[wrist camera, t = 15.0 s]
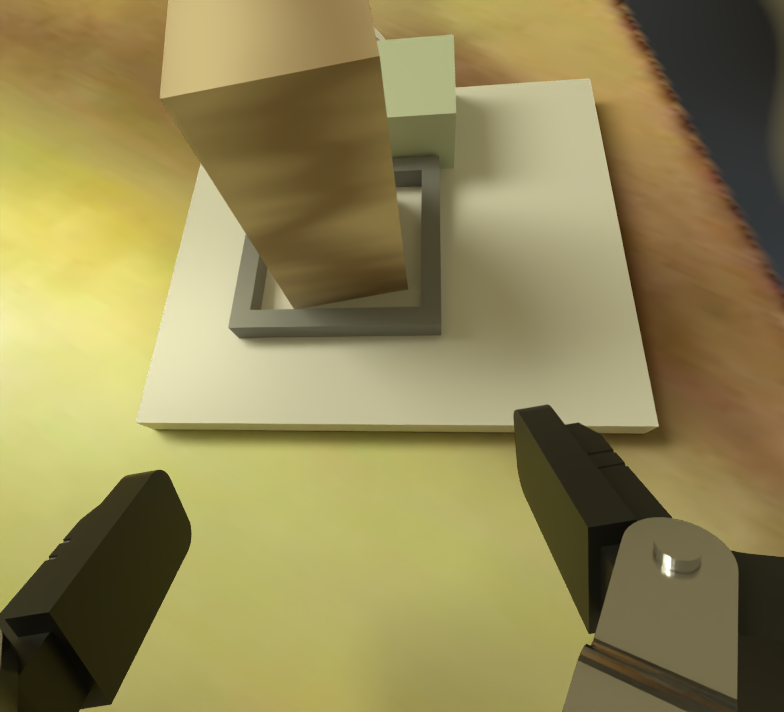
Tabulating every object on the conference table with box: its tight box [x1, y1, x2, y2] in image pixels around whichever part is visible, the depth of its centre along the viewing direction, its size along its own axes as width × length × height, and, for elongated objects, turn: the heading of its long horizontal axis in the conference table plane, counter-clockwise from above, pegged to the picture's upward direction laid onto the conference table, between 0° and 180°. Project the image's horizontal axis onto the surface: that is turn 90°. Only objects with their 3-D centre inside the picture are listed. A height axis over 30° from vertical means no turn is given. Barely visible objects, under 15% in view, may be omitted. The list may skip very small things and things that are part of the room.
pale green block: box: [377, 35, 456, 169], centre depth 21 cm, size 10×5×3 cm, turn 88°
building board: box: [136, 78, 659, 434], centre depth 20 cm, size 20×18×2 cm
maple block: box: [160, 0, 408, 309], centre depth 15 cm, size 5×5×10 cm
